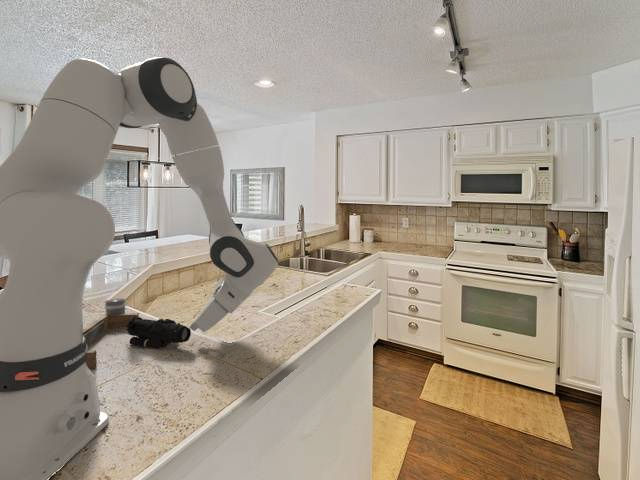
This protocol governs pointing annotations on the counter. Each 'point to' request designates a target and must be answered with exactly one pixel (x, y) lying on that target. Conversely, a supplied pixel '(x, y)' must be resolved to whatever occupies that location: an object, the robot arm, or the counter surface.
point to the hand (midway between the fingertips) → (192, 327)
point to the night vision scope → (156, 332)
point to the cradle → (101, 326)
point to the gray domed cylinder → (115, 306)
